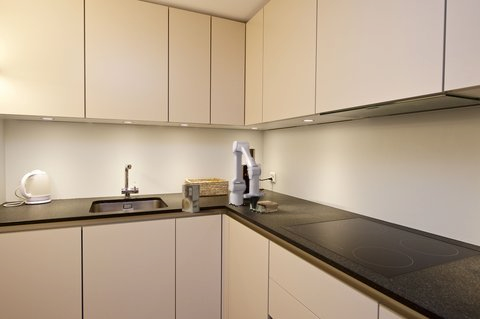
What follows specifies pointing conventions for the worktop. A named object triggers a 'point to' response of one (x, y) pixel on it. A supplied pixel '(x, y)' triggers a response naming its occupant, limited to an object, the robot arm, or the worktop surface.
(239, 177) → the robot arm
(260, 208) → the tray
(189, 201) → the coffee box
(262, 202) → the housing
